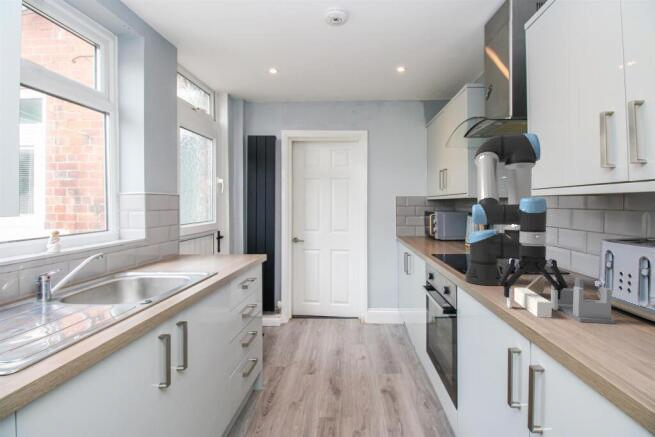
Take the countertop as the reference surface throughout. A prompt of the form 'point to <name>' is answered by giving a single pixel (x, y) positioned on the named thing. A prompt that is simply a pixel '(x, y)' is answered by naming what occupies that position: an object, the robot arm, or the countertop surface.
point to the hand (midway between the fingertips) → (531, 308)
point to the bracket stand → (585, 304)
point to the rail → (533, 302)
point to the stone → (537, 285)
